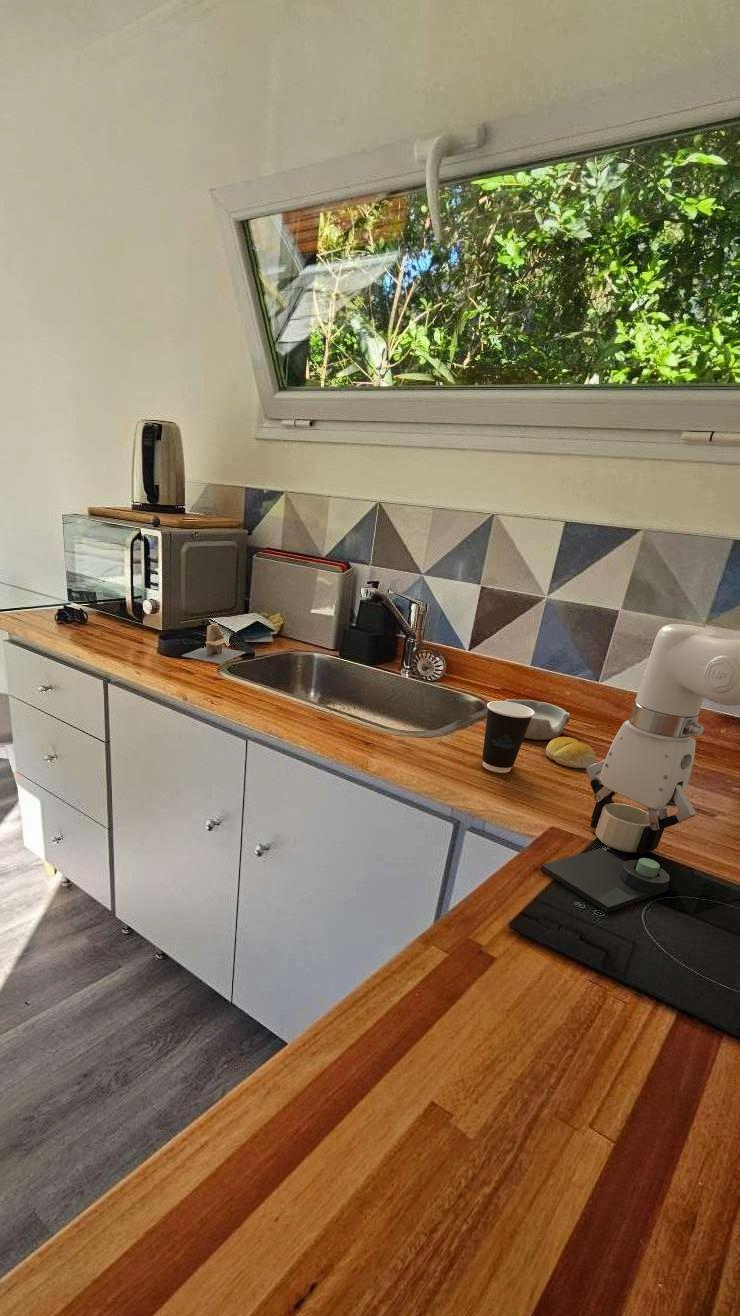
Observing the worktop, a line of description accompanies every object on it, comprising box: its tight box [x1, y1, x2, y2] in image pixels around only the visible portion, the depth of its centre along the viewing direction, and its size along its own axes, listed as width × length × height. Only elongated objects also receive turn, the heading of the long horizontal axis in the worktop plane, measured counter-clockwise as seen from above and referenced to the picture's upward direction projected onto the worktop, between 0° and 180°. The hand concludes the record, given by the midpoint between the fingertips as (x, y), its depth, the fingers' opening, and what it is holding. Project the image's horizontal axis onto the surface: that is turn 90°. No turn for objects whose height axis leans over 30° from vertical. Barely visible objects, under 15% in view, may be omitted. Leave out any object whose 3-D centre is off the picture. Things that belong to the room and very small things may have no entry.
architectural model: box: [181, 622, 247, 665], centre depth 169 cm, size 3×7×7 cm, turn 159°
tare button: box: [636, 857, 661, 878], centre depth 83 cm, size 2×2×2 cm
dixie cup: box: [481, 700, 535, 774], centre depth 115 cm, size 8×8×11 cm
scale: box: [539, 847, 671, 914], centre depth 84 cm, size 12×11×2 cm
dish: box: [504, 699, 571, 741], centre depth 137 cm, size 14×14×5 cm
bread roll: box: [545, 736, 598, 769], centre depth 124 cm, size 8×9×4 cm
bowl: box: [594, 802, 650, 853], centre depth 94 cm, size 7×7×5 cm
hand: (621, 837), depth 95 cm, fingers closed on bowl, 6 cm apart
